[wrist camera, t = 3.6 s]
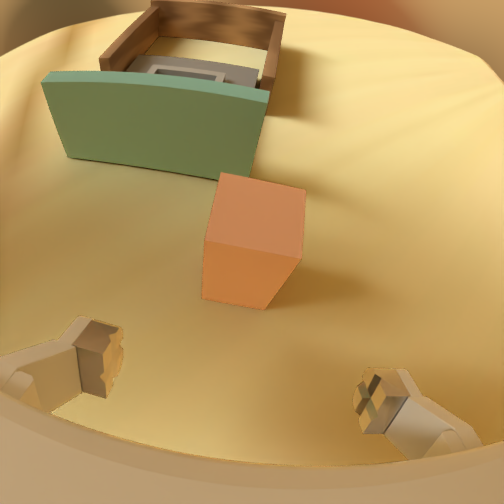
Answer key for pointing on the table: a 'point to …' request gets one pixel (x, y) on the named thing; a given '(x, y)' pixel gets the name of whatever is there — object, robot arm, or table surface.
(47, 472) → the robot arm
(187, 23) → the dock
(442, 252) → the table surface
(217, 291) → the terracotta block
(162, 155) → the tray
